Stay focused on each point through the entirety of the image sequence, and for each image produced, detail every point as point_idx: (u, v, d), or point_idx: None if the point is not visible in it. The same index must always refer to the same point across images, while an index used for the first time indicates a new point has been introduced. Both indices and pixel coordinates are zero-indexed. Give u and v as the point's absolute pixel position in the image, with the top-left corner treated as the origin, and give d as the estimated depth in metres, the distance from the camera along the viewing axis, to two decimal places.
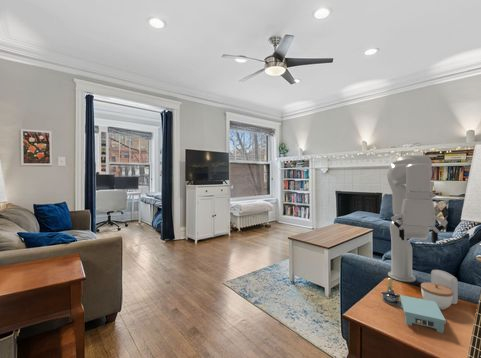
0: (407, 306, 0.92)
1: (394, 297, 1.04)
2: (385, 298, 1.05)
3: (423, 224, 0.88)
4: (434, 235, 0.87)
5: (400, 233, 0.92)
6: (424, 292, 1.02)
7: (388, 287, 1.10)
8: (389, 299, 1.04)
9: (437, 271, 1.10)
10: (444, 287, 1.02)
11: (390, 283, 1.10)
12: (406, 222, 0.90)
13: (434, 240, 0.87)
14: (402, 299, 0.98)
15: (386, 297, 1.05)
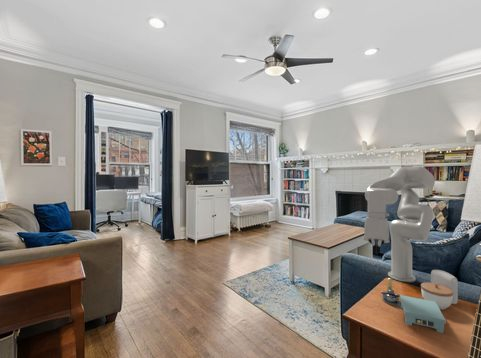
0: (407, 306, 0.92)
1: (394, 297, 1.04)
2: (385, 298, 1.05)
3: (379, 238, 1.10)
4: (377, 248, 1.11)
5: (373, 248, 1.13)
6: (424, 292, 1.02)
7: (388, 287, 1.10)
8: (389, 299, 1.04)
9: (437, 271, 1.10)
10: (444, 287, 1.02)
11: (390, 283, 1.10)
12: (367, 236, 1.13)
13: (377, 252, 1.11)
14: (402, 299, 0.98)
15: (386, 297, 1.05)
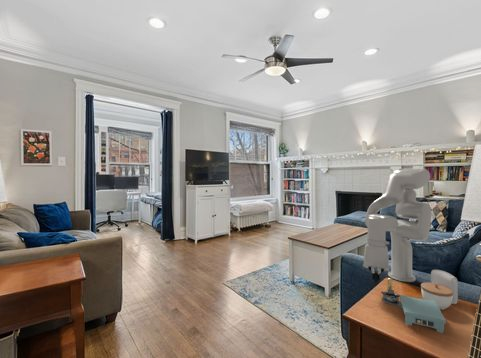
0: (407, 306, 0.92)
1: (394, 297, 1.04)
2: (385, 298, 1.05)
3: (379, 266, 1.10)
4: (376, 276, 1.11)
5: (373, 276, 1.13)
6: (424, 292, 1.02)
7: (388, 287, 1.10)
8: (389, 299, 1.04)
9: (437, 271, 1.10)
10: (444, 287, 1.02)
11: (390, 283, 1.10)
12: (367, 263, 1.13)
13: (376, 280, 1.11)
14: (402, 299, 0.98)
15: (386, 297, 1.05)
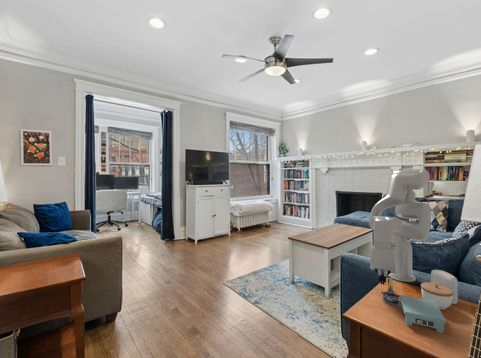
0: (407, 306, 0.92)
1: (394, 297, 1.04)
2: (385, 298, 1.05)
3: (386, 268, 1.10)
4: (383, 278, 1.11)
5: (379, 278, 1.12)
6: (424, 292, 1.02)
7: (388, 287, 1.10)
8: (389, 299, 1.04)
9: (437, 271, 1.10)
10: (444, 287, 1.02)
11: (390, 283, 1.10)
12: (373, 265, 1.12)
13: (383, 282, 1.11)
14: (402, 299, 0.98)
15: (386, 297, 1.05)
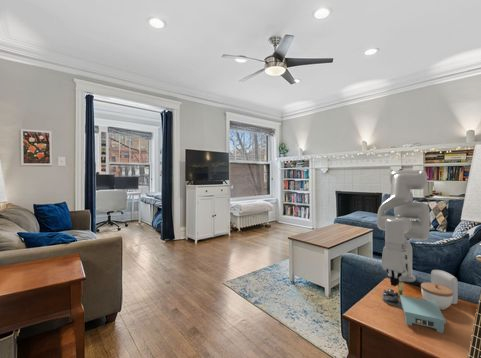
0: (407, 306, 0.92)
1: (389, 296, 1.05)
2: None
3: (395, 269, 1.08)
4: (393, 279, 1.09)
5: (390, 279, 1.10)
6: (424, 292, 1.02)
7: (398, 290, 1.07)
8: (383, 296, 1.06)
9: (437, 271, 1.10)
10: (444, 287, 1.02)
11: (399, 286, 1.07)
12: (383, 265, 1.12)
13: (393, 283, 1.09)
14: (402, 299, 0.98)
15: (383, 294, 1.08)
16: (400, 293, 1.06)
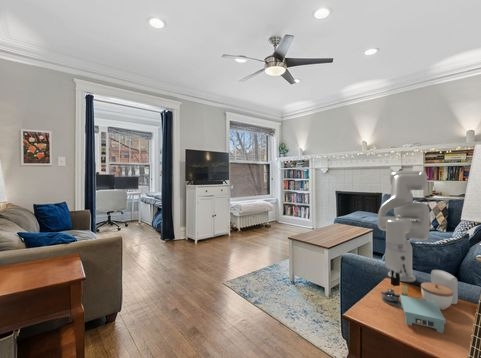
0: (407, 306, 0.92)
1: (385, 295, 1.06)
2: None
3: (393, 269, 1.09)
4: (392, 279, 1.10)
5: None
6: (424, 292, 1.02)
7: None
8: None
9: (437, 271, 1.10)
10: (444, 287, 1.02)
11: (402, 289, 1.04)
12: (385, 264, 1.14)
13: (392, 283, 1.10)
14: (402, 299, 0.98)
15: None
16: None
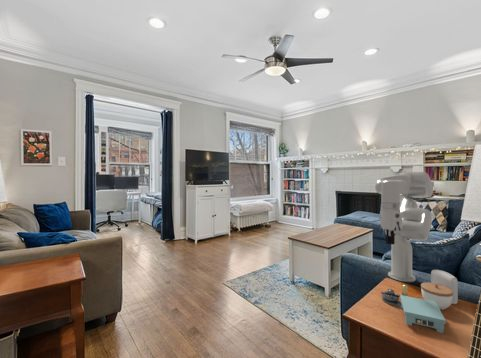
0: (407, 306, 0.92)
1: (385, 295, 1.06)
2: None
3: (387, 227, 1.13)
4: (387, 237, 1.14)
5: None
6: (424, 292, 1.02)
7: None
8: None
9: (437, 271, 1.10)
10: (444, 287, 1.02)
11: (402, 289, 1.04)
12: (381, 225, 1.19)
13: (387, 241, 1.14)
14: (402, 299, 0.98)
15: None
16: None
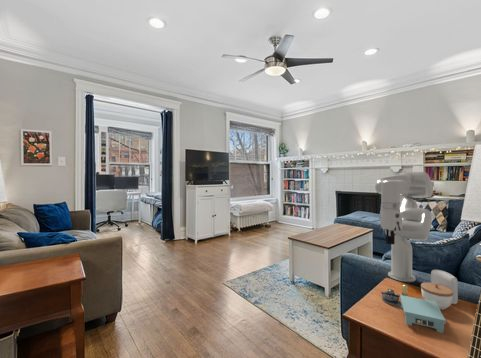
0: (407, 306, 0.92)
1: (385, 295, 1.06)
2: None
3: (387, 227, 1.13)
4: (387, 237, 1.14)
5: None
6: (424, 292, 1.02)
7: None
8: None
9: (437, 271, 1.10)
10: (444, 287, 1.02)
11: (402, 289, 1.04)
12: (381, 225, 1.19)
13: (387, 241, 1.14)
14: (402, 299, 0.98)
15: None
16: None
